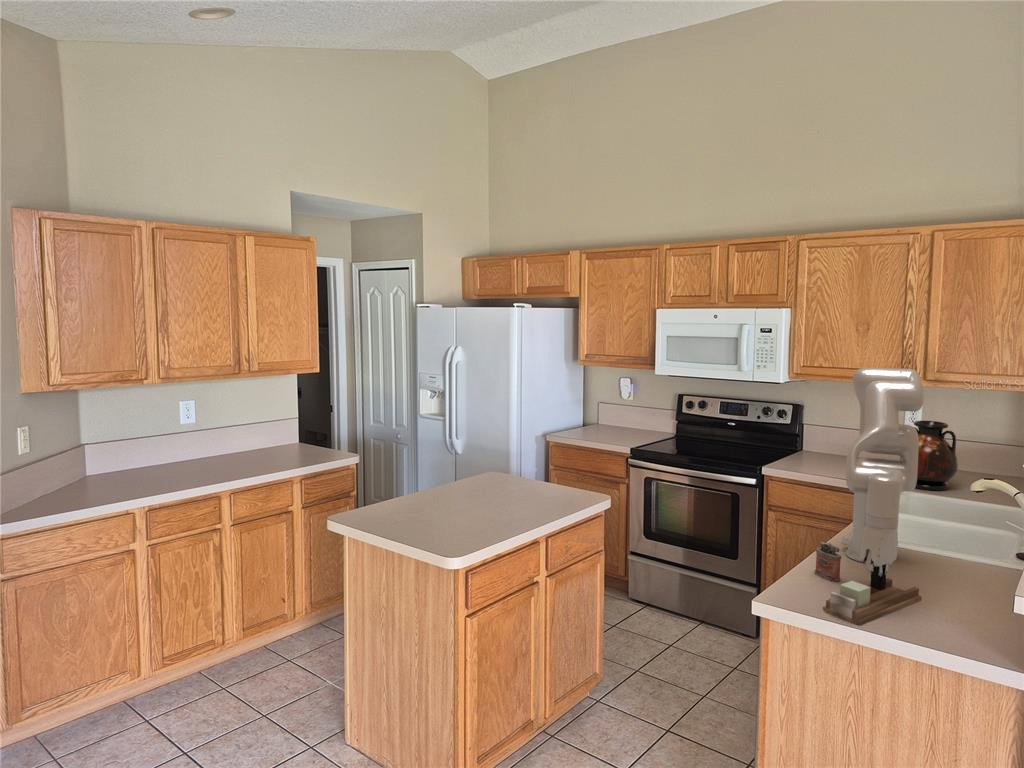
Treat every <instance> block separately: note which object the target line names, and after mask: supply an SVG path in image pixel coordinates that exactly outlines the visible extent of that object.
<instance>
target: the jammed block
mask: <svg viewBox="0 0 1024 768" xmlns="http://www.w3.org/2000/svg"><path fill="white" fill-rule="evenodd" d="M870 588H871V587H868V586H867V585H865V584H863V583H861V582H860V583H859V582H858V581H855V580H850V581H847V582H845V583H841V584H840V588H839V594H841V595H843V596H846V597H849V598H851V599H854V600H856V604H855V610H856V609H858V608H861V607H864V606H866V605H869V604H870Z"/></svg>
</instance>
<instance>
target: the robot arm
mask: <svg viewBox="0 0 1024 768" xmlns="http://www.w3.org/2000/svg"><path fill="white" fill-rule="evenodd" d="M852 376H853V377H852V383H853V384H852V385H853V390H854V393H855V395H856V398H857V401H858V403H859V409H860V412H859V413H860V414H859V415H860V416H859V434H858V435H859V436H858V437H857V438H856V439H855V440H854V441H853V442H852V443H851V445H850V447H849V449H848V451H847V454H846V461H845V462H846V464H845V483H846V487H847V489H848V490H849V491H851V493H852V492H853V511H852V512H853V513H852V534H851V538H850V537H847V536H842V538H841V540H840V544H841V545H844V546H847V549H846V550H845V555H846V557H848V558H849V559H852V560H853V561H857V562H860V563H865V567H864V569H865V570H866V571H869V573H870V584H869V585H870V586H871V587H872V588H875V589H878V590H880V591H882V590H884V589H885V588H886V579H887V575H888V573H889V572H888V571H889V567H890V566H891V564H893V563H894V561H896V560H897V557H898V547H899V546H898V545H899V537H898V535H899V534H898V532H899V531H898V529H899V514H900V499H901V497H900V496H901V494H902V493H903V492H906V493H908V492H912V491H914V490H915V489H916V488H915V487H916V483H917V471H918V449H919V439H918V433H917V430H918V429H917V428H916V427H915V426H913V425H911V424H905V423H904V424H902V423H899V422H900V421H899V420H900V419H899V418H900V417H899V412H918V411H920V410H921V408H922V407H923V405H924V397H925V394H924V387H923V383H922V380H921V376H920V373H919V372H918V370H915V369H912V368H898V367H897V368H895V367H893V368H892V367H862V368H858V369H856V370H855V371H854V372H853V375H852ZM914 427H915V428H916V429H917V430H916V429H915V428H914ZM862 452H865V453H868V454H875V455H888V456H897V457H899V458H900V457H901V460H900V459H895V458H885V457H884V458H882V457H872V456H871V457H867V456H866V457H861V458H858V457H859V455H860V453H862Z"/></svg>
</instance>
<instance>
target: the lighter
mask: <svg viewBox="0 0 1024 768" xmlns="http://www.w3.org/2000/svg"><path fill="white" fill-rule="evenodd" d="M819 544H820V545H819V546H820V547H817V548H815V552H816V557H815V570H814V574H815V575H816V574H817V575H816V576H818V575H819V576H818V577H820V576H821V577H820V578H822V577H823V578H822V579H824V578H825V580H826V579H828V580H827V581H829V580H830V582H832V581H833V582H832V583H840V582H841V577H840V576H841V575H840V574H841V561H842V560H841V559H842V555H841V554H839V553H840V548H839V547H838V546H836V545H833V544H831V542H825V541H824V542H823V541H820V543H819Z"/></svg>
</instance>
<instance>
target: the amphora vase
mask: <svg viewBox="0 0 1024 768" xmlns="http://www.w3.org/2000/svg"><path fill="white" fill-rule="evenodd" d="M913 425H914V426H913V427H914V428H915V429H916V430H917V433H918V439H919V449H918V471H917V483H916V487H915V488H914V489H919V490H924V491H932V492H933V491H936V492H937V491H938V492H939V491H945V490H948V489H949V488H950V483H949V481H950V480H951V479H953V478H954V477H955V476H956V474H957V472H958V468H959V467H958V465H959V463H958V457H957V455H956V450H957V449H956V446H957V436H956V434H955V432H954V431H952V430H945V431H943V430H944V429H947V428H949V424H948V423H946V422H941V421H935V420H915V421H914V422H913ZM915 426H916V427H917V428H916V427H915ZM947 434H950V435H951V438H952V442H951V443H952V444H951V445H950V443H949V442H948V441H947V440H946V438H945V436H946V435H947ZM899 460H901V457H900V456H899Z"/></svg>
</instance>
